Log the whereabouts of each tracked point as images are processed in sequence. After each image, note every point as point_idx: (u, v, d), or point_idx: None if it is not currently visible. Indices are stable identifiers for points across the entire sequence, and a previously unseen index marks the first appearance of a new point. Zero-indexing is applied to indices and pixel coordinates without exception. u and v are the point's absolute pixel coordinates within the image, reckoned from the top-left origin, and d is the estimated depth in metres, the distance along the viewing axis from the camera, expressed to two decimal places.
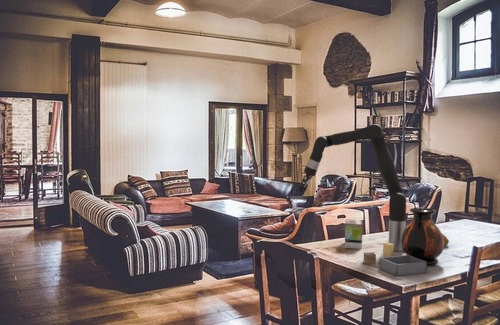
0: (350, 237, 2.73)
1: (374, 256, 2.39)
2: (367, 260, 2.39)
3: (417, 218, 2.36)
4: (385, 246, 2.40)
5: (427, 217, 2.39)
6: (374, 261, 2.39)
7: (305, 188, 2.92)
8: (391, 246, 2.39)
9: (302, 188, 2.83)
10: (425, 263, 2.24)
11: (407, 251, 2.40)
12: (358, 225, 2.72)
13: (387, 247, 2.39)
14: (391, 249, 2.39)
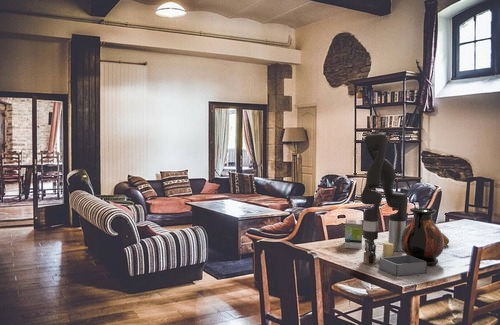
0: (350, 237, 2.73)
1: (374, 256, 2.39)
2: (367, 260, 2.39)
3: (417, 218, 2.36)
4: (385, 246, 2.40)
5: (427, 217, 2.39)
6: (374, 261, 2.39)
7: None
8: (391, 246, 2.39)
9: (372, 258, 2.38)
10: (425, 263, 2.24)
11: (407, 251, 2.40)
12: (358, 225, 2.72)
13: (387, 247, 2.39)
14: (391, 249, 2.39)
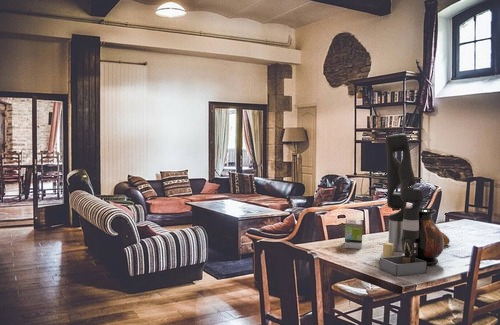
0: (350, 237, 2.73)
1: None
2: None
3: None
4: (385, 246, 2.40)
5: (427, 217, 2.39)
6: None
7: (408, 255, 2.33)
8: (391, 246, 2.39)
9: (414, 258, 2.23)
10: (425, 263, 2.24)
11: None
12: (358, 225, 2.72)
13: (387, 247, 2.39)
14: (391, 249, 2.39)
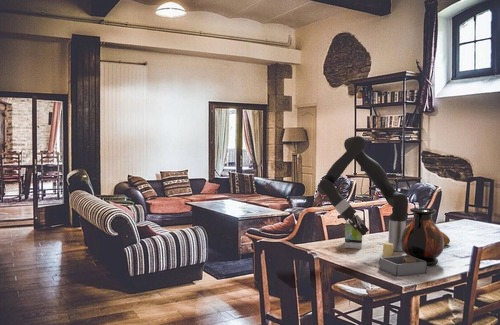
0: (350, 237, 2.73)
1: (414, 262, 2.27)
2: None
3: (417, 218, 2.36)
4: (385, 246, 2.40)
5: (427, 217, 2.39)
6: None
7: (366, 228, 2.50)
8: (391, 246, 2.39)
9: (361, 230, 2.42)
10: (425, 263, 2.24)
11: (407, 251, 2.40)
12: None
13: (387, 247, 2.39)
14: (391, 249, 2.39)
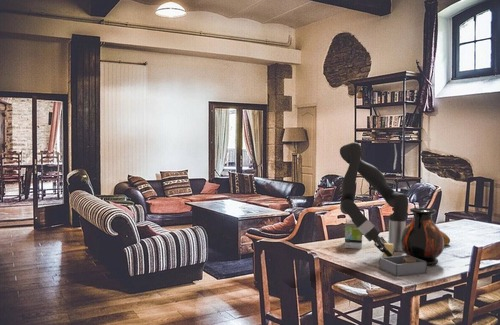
0: (350, 237, 2.73)
1: (414, 262, 2.27)
2: None
3: (417, 218, 2.36)
4: (385, 246, 2.40)
5: (427, 217, 2.39)
6: None
7: None
8: (391, 246, 2.39)
9: (387, 252, 2.38)
10: (425, 263, 2.24)
11: (407, 251, 2.40)
12: None
13: (387, 247, 2.39)
14: (391, 249, 2.39)
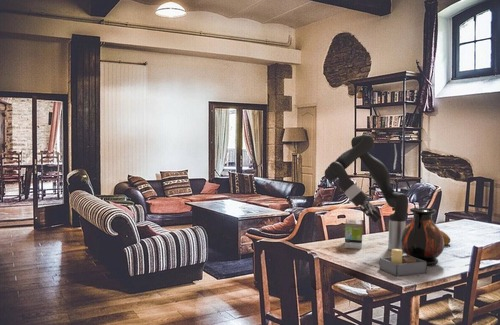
0: (350, 237, 2.73)
1: (414, 262, 2.27)
2: None
3: (417, 218, 2.36)
4: (393, 252, 2.25)
5: (427, 217, 2.39)
6: None
7: (378, 215, 2.33)
8: (400, 252, 2.24)
9: (373, 216, 2.25)
10: (425, 263, 2.24)
11: (407, 251, 2.40)
12: (358, 225, 2.72)
13: (396, 253, 2.24)
14: (400, 256, 2.24)
